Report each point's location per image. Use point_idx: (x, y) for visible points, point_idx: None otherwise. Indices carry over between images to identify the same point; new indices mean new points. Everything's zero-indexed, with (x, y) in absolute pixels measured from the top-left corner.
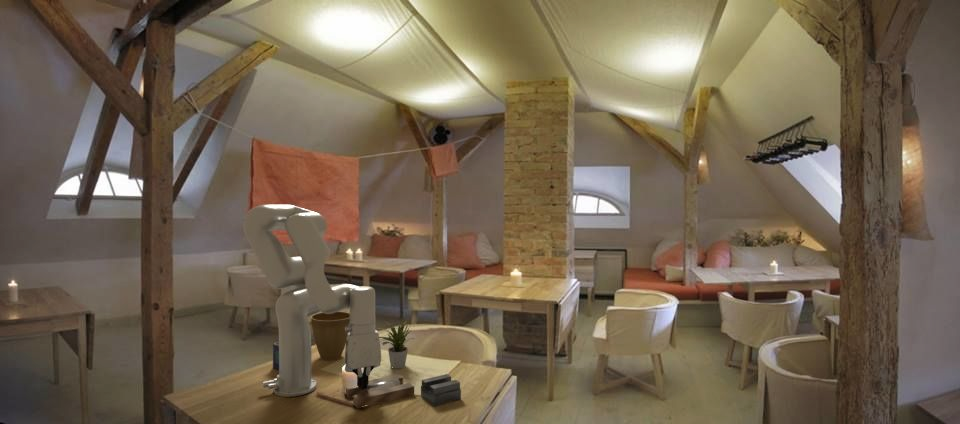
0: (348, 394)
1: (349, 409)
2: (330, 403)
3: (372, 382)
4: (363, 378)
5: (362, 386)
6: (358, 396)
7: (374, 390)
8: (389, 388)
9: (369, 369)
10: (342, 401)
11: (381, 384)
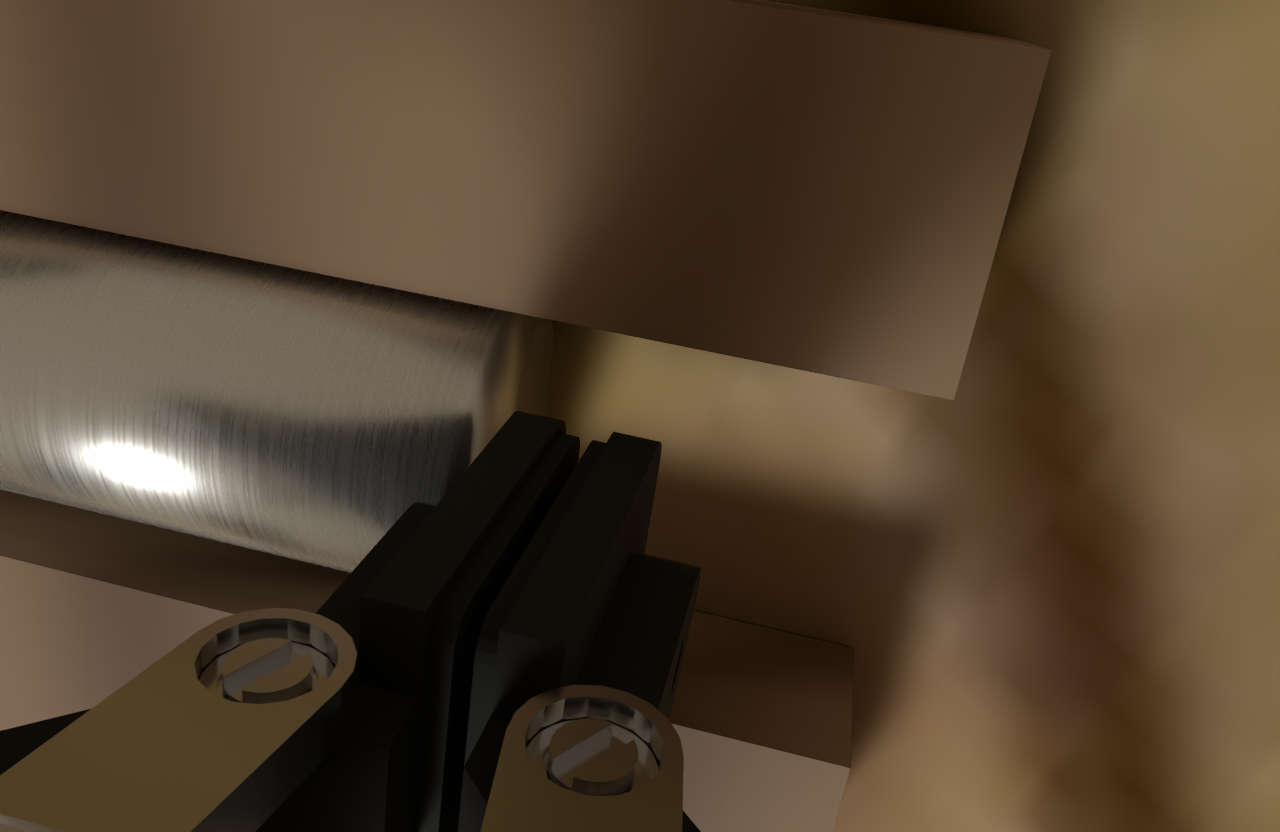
0: (843, 692)
1: (1171, 143)
2: (1267, 693)
3: None
4: (524, 601)
5: (632, 472)
6: (883, 250)
7: (371, 296)
8: (17, 142)
9: (96, 761)
10: (1026, 603)
11: (115, 356)
